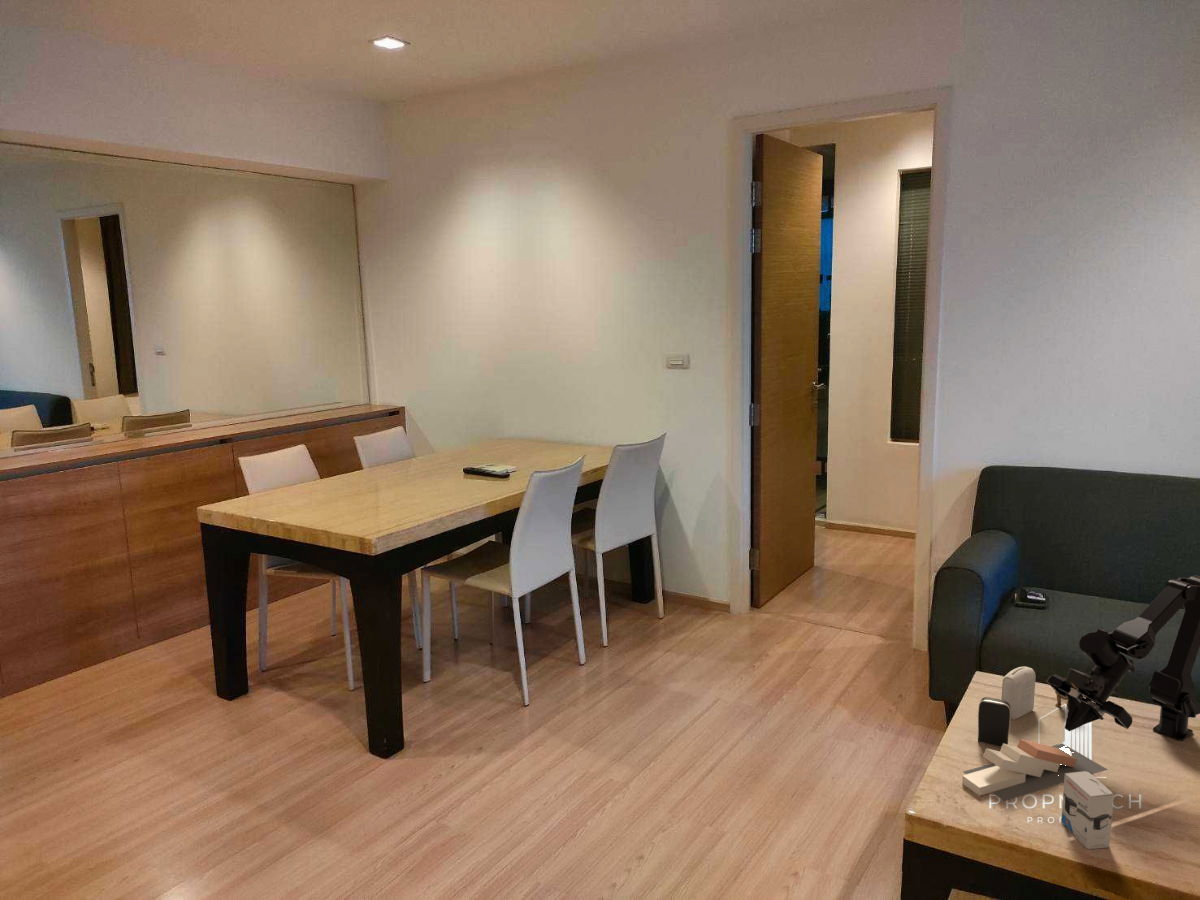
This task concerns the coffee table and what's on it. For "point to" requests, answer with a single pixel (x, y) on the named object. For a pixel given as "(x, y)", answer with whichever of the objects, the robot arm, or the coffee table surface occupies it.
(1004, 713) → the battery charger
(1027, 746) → the terracotta domino
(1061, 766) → the domino mat
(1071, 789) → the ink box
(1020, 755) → the ivory domino
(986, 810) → the coffee table surface
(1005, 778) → the ivory domino
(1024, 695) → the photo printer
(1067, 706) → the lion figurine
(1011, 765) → the ivory domino
